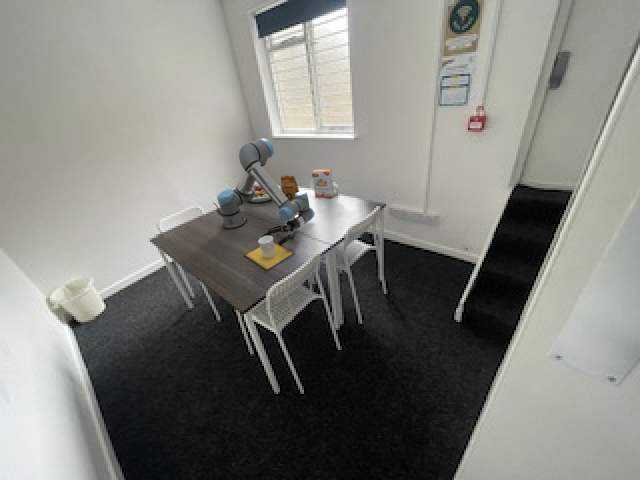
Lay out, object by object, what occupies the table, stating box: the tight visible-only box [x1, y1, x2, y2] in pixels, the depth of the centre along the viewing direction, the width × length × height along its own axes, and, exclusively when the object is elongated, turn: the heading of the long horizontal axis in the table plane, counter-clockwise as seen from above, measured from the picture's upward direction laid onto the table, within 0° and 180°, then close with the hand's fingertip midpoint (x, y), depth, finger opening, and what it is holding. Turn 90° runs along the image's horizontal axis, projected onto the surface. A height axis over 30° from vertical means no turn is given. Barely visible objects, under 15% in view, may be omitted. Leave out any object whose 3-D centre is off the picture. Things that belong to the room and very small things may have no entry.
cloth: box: [244, 242, 294, 271], centre depth 146 cm, size 22×18×1 cm
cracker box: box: [311, 169, 335, 199], centre depth 199 cm, size 14×6×21 cm, turn 68°
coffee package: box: [279, 175, 300, 202], centre depth 197 cm, size 10×12×22 cm
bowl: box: [249, 184, 282, 203], centre depth 221 cm, size 30×30×8 cm
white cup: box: [257, 235, 276, 258], centre depth 143 cm, size 8×8×10 cm
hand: (270, 241), depth 143 cm, fingers open, 13 cm apart
